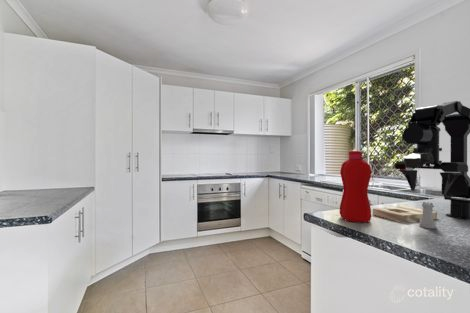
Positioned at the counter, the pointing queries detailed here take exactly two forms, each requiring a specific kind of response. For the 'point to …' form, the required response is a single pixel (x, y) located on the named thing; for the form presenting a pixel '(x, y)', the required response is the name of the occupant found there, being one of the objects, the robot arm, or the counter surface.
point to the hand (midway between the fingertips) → (427, 192)
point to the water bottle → (355, 189)
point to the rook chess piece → (427, 216)
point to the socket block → (401, 213)
